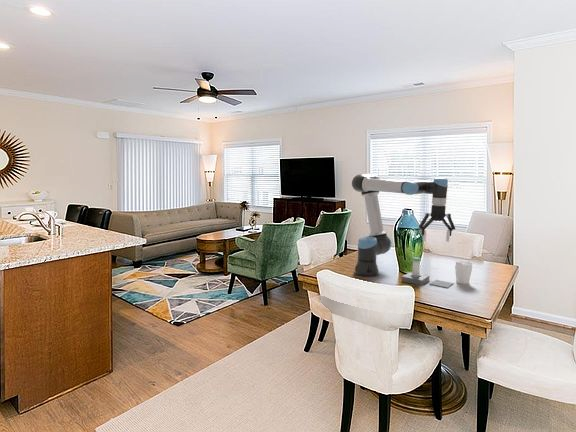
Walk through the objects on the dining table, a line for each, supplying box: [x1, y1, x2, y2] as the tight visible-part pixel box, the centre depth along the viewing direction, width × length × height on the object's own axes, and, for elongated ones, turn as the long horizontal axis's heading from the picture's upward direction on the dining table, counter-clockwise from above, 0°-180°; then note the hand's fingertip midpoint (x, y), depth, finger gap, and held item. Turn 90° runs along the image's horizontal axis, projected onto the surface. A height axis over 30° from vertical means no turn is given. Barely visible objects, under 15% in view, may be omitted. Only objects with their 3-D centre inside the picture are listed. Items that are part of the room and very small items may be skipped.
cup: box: [454, 260, 473, 285], centre depth 215 cm, size 9×9×12 cm
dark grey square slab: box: [401, 271, 430, 286], centre depth 218 cm, size 12×12×3 cm
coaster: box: [429, 279, 454, 289], centre depth 212 cm, size 10×10×1 cm
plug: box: [411, 257, 422, 278], centre depth 217 cm, size 5×5×14 cm
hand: (435, 240), depth 212 cm, fingers open, 13 cm apart
